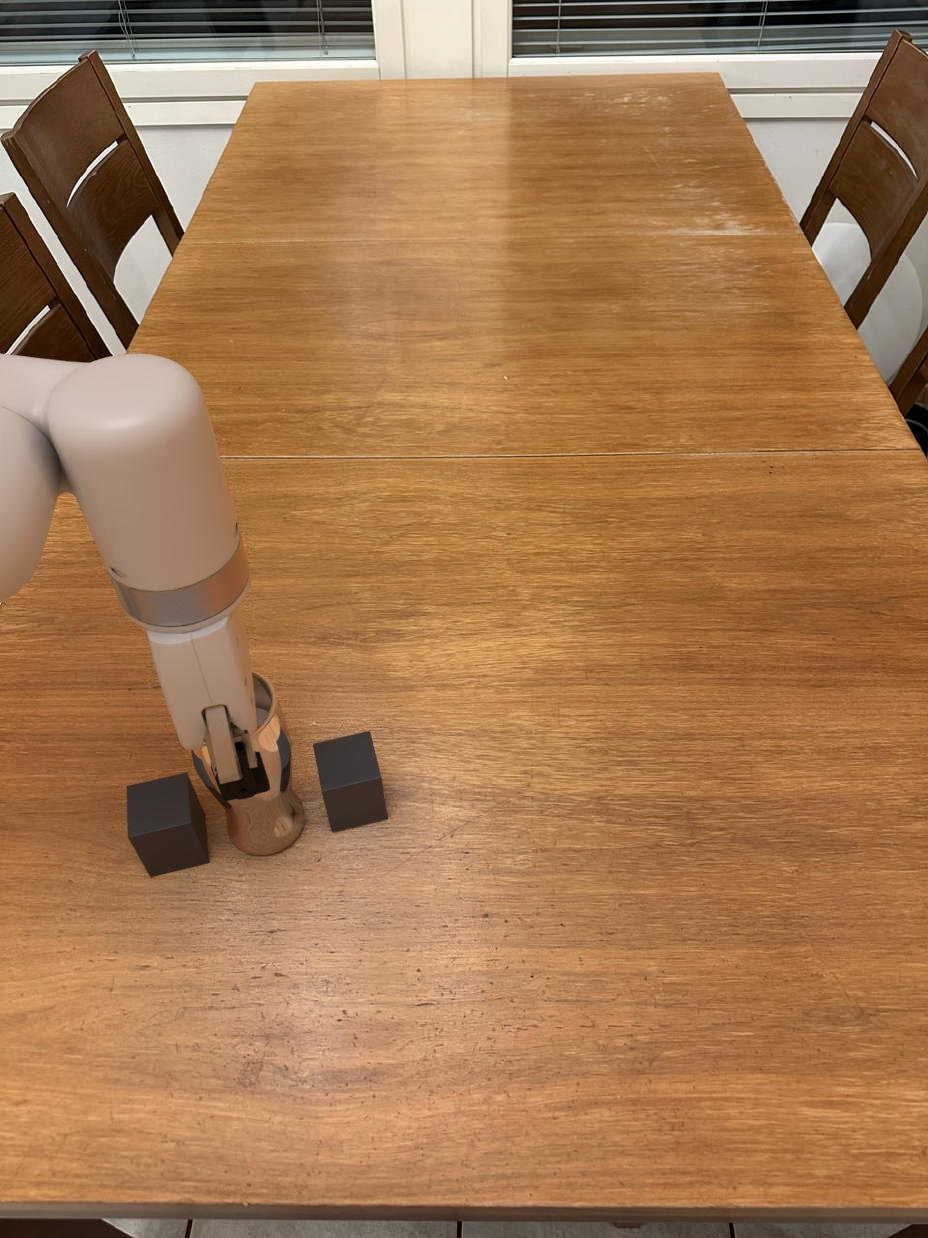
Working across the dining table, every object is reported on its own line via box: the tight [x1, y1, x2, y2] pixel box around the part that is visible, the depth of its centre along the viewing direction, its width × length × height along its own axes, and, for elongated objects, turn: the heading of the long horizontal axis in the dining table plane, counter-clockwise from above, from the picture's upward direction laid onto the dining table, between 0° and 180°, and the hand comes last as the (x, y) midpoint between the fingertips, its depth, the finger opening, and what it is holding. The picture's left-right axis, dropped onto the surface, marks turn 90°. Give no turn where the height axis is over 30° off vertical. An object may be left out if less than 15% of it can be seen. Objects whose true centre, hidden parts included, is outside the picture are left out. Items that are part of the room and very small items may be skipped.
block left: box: [125, 772, 210, 878], centre depth 71 cm, size 4×4×6 cm
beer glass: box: [187, 669, 306, 856], centre depth 69 cm, size 7×7×15 cm
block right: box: [312, 730, 389, 833], centre depth 74 cm, size 4×4×6 cm
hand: (241, 746), depth 67 cm, fingers closed on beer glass, 7 cm apart
